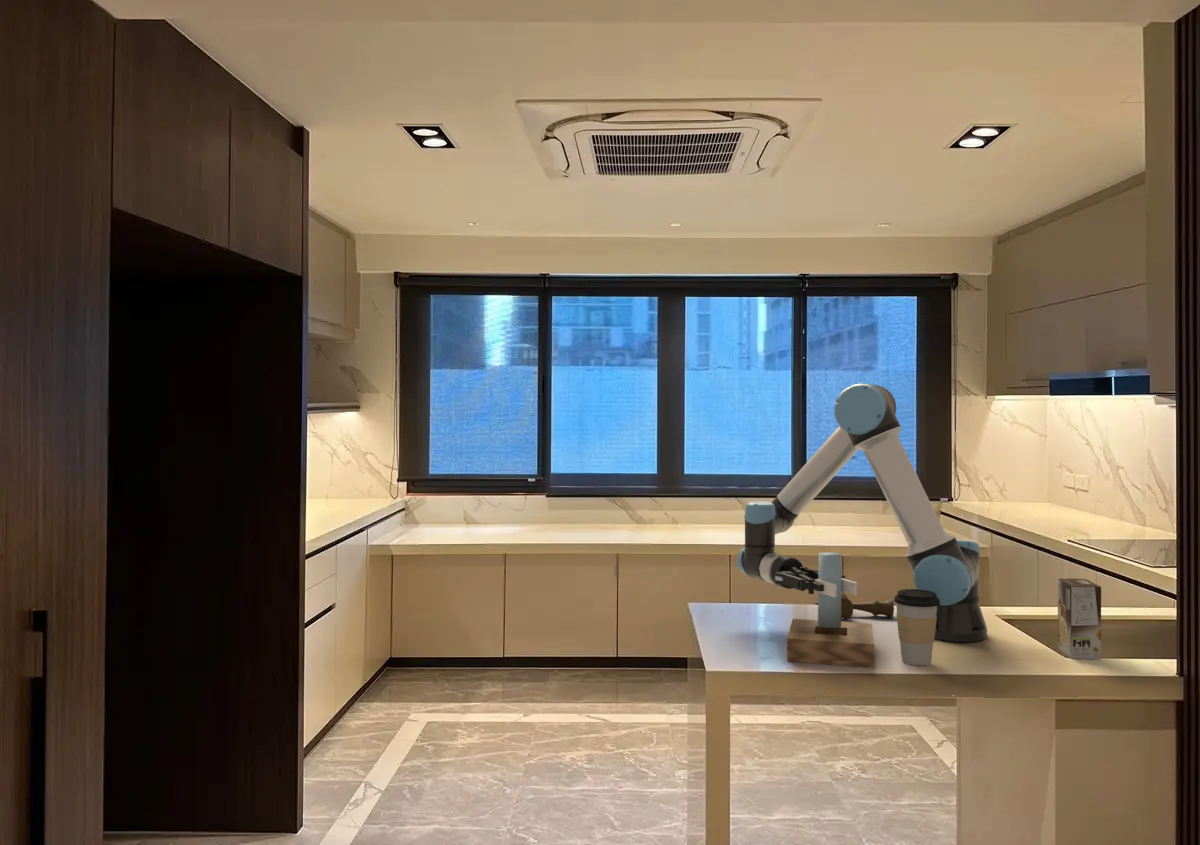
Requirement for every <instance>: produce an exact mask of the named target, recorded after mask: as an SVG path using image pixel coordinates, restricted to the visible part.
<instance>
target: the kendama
mask: <svg viewBox="0 0 1200 845" xmlns="http://www.w3.org/2000/svg"><path fill="white" fill-rule="evenodd" d="M814 604H815V605H816V606H818V602H815V603H814ZM894 605H895V604H894V599H892V598H888V599H887V600H877V599H875V598H874V599H872V600H871V601H866V602H865V601H864V602H852V601H851V600H850V599H849V598H848V595H847V594H845V592H841V620H844V619H846V620H848V619H850V618H851V617H852V615H853V613H854V610H857V611H862V612H867V613H870V614H872V615H873V616H874V617H877V616H879V615H882V616H886V617H887V618H888V619H893V617H894V613H895V606H894ZM842 618H843V619H842Z"/></svg>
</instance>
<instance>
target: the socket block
mask: <svg viewBox="0 0 1200 845" xmlns="http://www.w3.org/2000/svg"><path fill="white" fill-rule="evenodd" d="M789 627H790V628H789V630H788V633H787V634H788V635H787V638H786V639H787V640H786V643H787V644H786V645H787V646H786V651H787V653H786V654H787V655H786V656H787V657H786V662H791V661H794V662H793V663H804V662H806V663H808V664H818V665H819V664H820V665H821V664H822V665H832V666H833V665H834V666H843V665H846V667H856V666H862V667H861V668H869V667H874V668H875V641H874V629H873V623H868V622H853V621H852V622H851V621H841V627H838V628H826V627H822V626H819V625H818V619H806V618H805V619H804V618H792V620H791V624H790V626H789ZM795 661H796V662H795Z"/></svg>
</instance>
